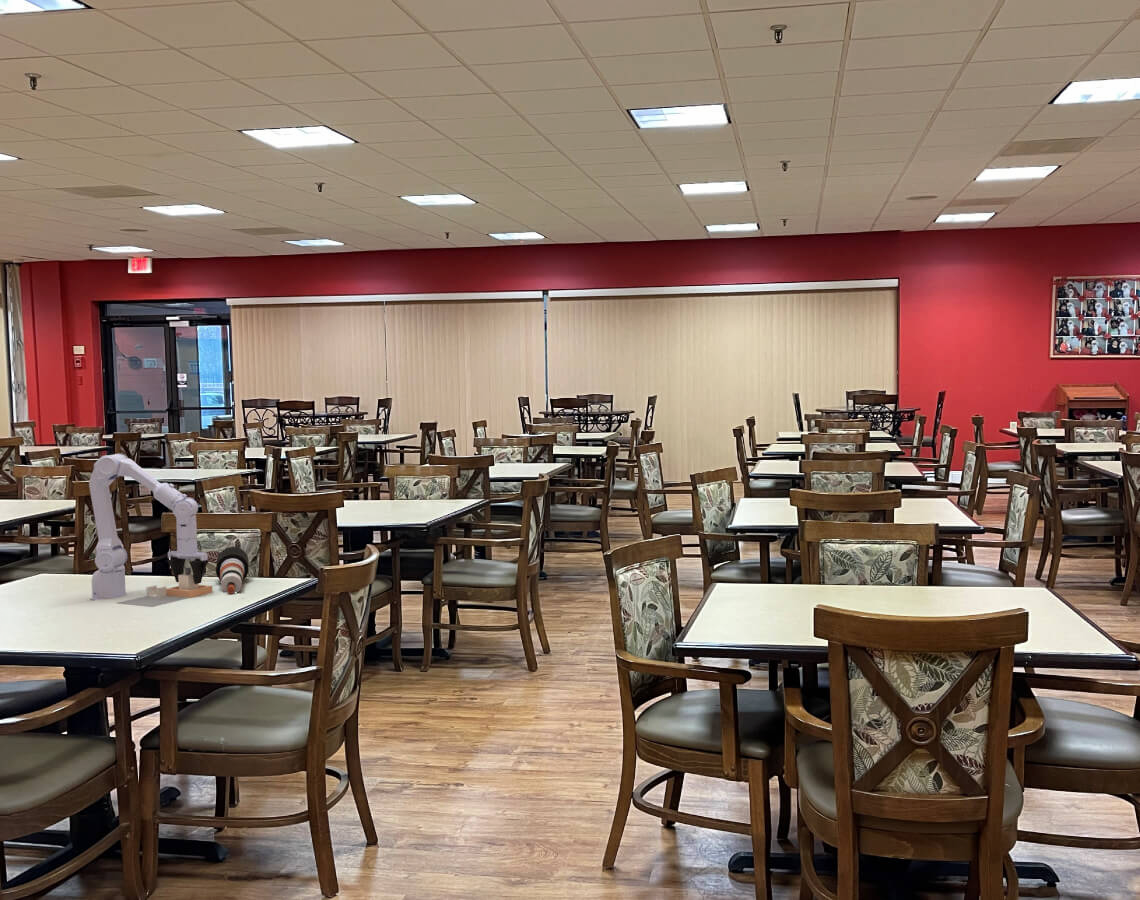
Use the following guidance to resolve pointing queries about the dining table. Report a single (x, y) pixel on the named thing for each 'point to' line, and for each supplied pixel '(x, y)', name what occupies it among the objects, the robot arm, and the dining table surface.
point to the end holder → (189, 591)
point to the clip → (156, 592)
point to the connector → (187, 580)
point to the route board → (152, 601)
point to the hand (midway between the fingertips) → (188, 582)
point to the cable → (232, 569)
